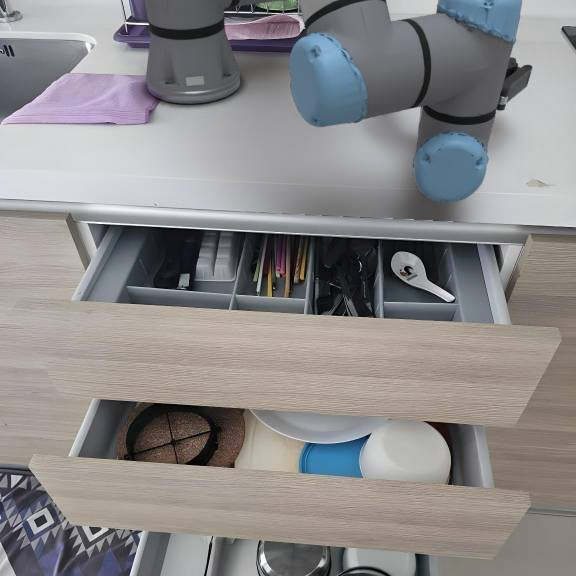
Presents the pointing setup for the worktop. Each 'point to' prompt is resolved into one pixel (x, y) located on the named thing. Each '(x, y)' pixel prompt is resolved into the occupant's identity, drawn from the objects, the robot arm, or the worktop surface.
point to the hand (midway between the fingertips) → (453, 50)
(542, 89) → the worktop surface
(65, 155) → the worktop surface
